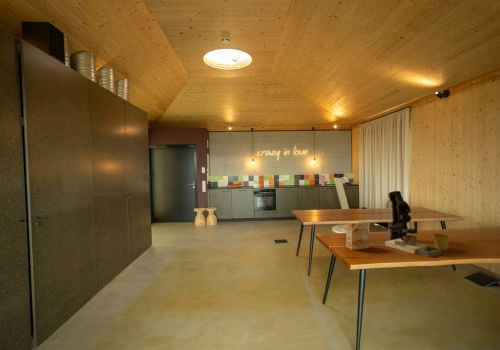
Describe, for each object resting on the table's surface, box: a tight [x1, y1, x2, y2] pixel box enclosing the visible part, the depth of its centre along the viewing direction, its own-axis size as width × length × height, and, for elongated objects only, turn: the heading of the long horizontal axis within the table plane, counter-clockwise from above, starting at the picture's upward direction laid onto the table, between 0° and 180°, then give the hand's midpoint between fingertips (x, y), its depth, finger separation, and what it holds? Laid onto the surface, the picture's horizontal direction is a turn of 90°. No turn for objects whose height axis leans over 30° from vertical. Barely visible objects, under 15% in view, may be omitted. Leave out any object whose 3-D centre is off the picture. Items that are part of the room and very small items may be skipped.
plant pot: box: [432, 233, 452, 251], centre depth 189 cm, size 10×10×10 cm
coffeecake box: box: [345, 220, 370, 251], centre depth 194 cm, size 15×7×20 cm, turn 105°
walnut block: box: [403, 234, 417, 246], centre depth 191 cm, size 6×6×6 cm
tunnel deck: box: [384, 238, 443, 258], centre depth 189 cm, size 32×18×6 cm, turn 27°
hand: (402, 240), depth 196 cm, fingers closed
